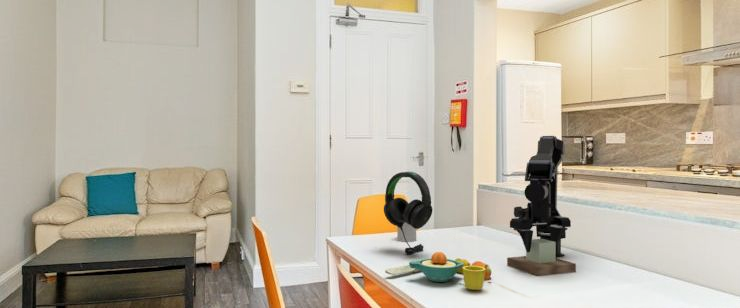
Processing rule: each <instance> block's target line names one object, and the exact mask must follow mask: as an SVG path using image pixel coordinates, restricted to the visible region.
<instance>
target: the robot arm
mask: <svg viewBox="0 0 740 308" xmlns="http://www.w3.org/2000/svg"><path fill="white" fill-rule="evenodd" d="M565 146H566V145H565V142H564V141H563V140H562V139H559V138H557V136H555V135H542V136H540V137H539V140H538V142H537V151H536V154H535V155H532V156H531V157H530V158H529V161H528V162H527V163H526V166H525V167H526V168H525V175H524V176H525V177H524V182H529V184H528V185H526V187H525V188H524V191H523V193H524V197H525V198H526V200H527V201H529V202H527V205H526V207H525V208H524V207H522V206H515V207H513V216H514V218H511V219H510V221H509V228H510V229H513V231H516V232H517V233H518V234H519V235H520V238H521V240H522V243H523V245H524V248H525V252H526V251H527V252H530V249H531V243H532V239H533V235H534V230H532V228H533V227H536V229H535V230H536V237H537V238H539V239H545V240H549V241H553V242H556V257H563V256H565V254H564V253H562V240H563V239H566V237H567V235H566V231H567V230H568V228H571V222H572V221H571V219H570V218H569V217H567V216H562V215H561V214H560V212H559V210H558V208H557V207H558V206H557V205H558V172H559V171H558V169H559V168H558V167H559V166H560V164H561V163H562V162H563V158H564V155H566V153H565V152H566V147H565Z"/></svg>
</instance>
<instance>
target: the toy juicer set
mask: <svg viewBox="0 0 740 308" xmlns="http://www.w3.org/2000/svg"><path fill="white" fill-rule="evenodd" d="M410 272H412V273H417V272H421V273H422V274H423V275H424V276H425V277H426V278H428V279H429V280H430V281H432V282H437V283H442V282H448V281H450V279H452V278H453V277H455V275H456V274H457V273H458V274H462V275H463V282H464V287H465V289H467V290H474V291H475V290H476V291H477V290H482V289H483V287H484V281H487V280H489V279H490V278H491V277H492V269H491V267H490V264H487V263H485V262H483V261H474V262H472V263H470V261H469V260H467V259H463V258H455V259H449V258H447V256H446V255H445V253H443V252H441V251H436V252H434V253H433V254H432V255H431V257H430V258H424V259H421V260H412V261H411V260H410V261H409V262H408V264H407V265H403V266H398V267H393V268H387V269H385V271H384V273H385V274H387V275H390V276H391V275H392V276H395V275H400V274H405V273H410Z"/></svg>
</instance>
